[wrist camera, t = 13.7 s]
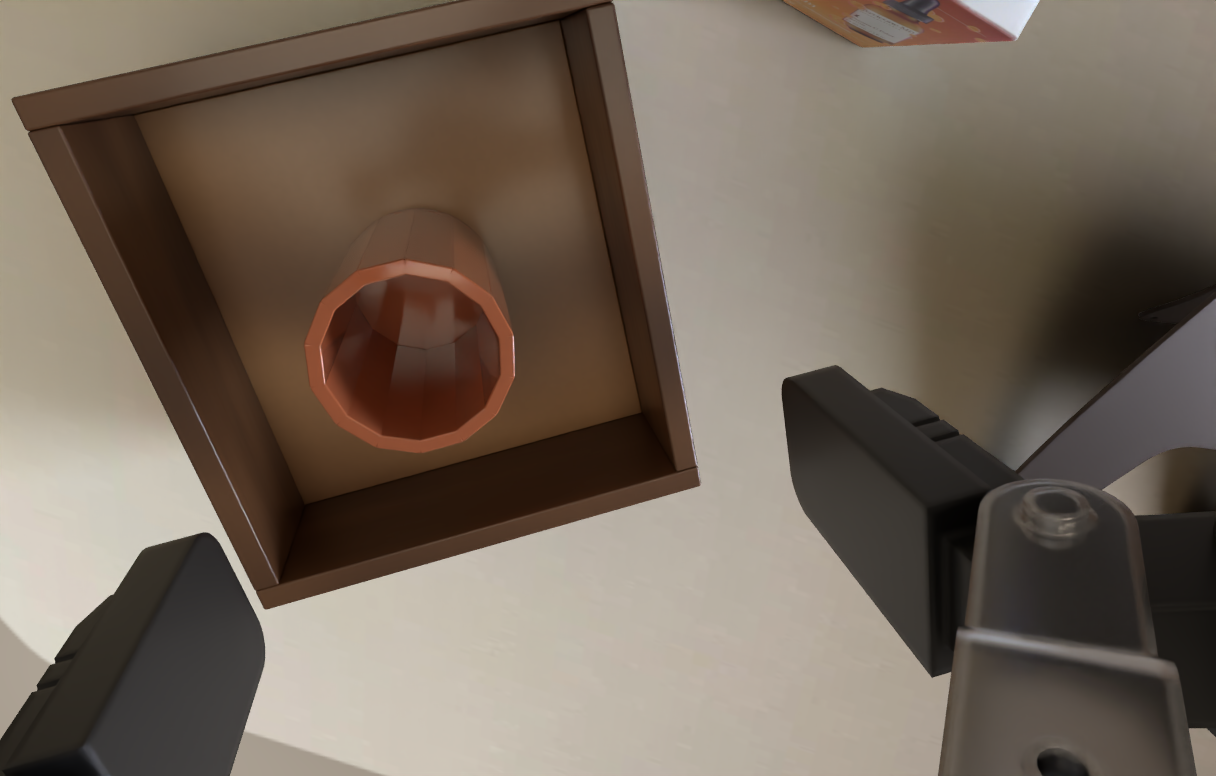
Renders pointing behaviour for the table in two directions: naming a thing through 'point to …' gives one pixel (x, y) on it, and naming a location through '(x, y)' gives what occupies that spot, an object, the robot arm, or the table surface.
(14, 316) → the table surface
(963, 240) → the table surface
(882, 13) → the small box
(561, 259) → the box
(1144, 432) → the laptop tray
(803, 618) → the table surface
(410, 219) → the cup
